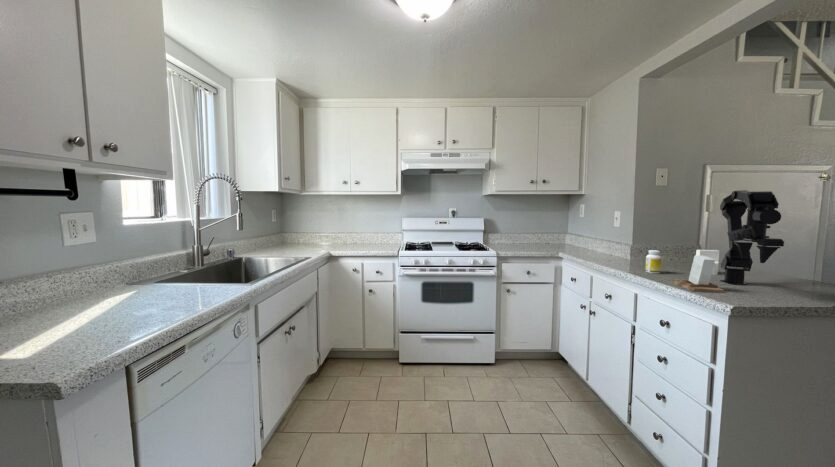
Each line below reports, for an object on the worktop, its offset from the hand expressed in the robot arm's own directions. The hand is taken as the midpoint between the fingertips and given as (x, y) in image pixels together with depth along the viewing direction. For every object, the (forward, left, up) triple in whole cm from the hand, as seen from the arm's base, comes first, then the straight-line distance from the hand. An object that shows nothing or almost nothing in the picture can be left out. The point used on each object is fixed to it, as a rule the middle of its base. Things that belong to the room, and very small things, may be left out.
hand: (752, 260), depth 127 cm
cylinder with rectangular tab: (-37, +8, -13) cm, 41 cm away
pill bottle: (-33, -19, -13) cm, 41 cm away
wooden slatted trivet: (-3, -17, -13) cm, 21 cm away
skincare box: (-4, -17, -11) cm, 20 cm away
